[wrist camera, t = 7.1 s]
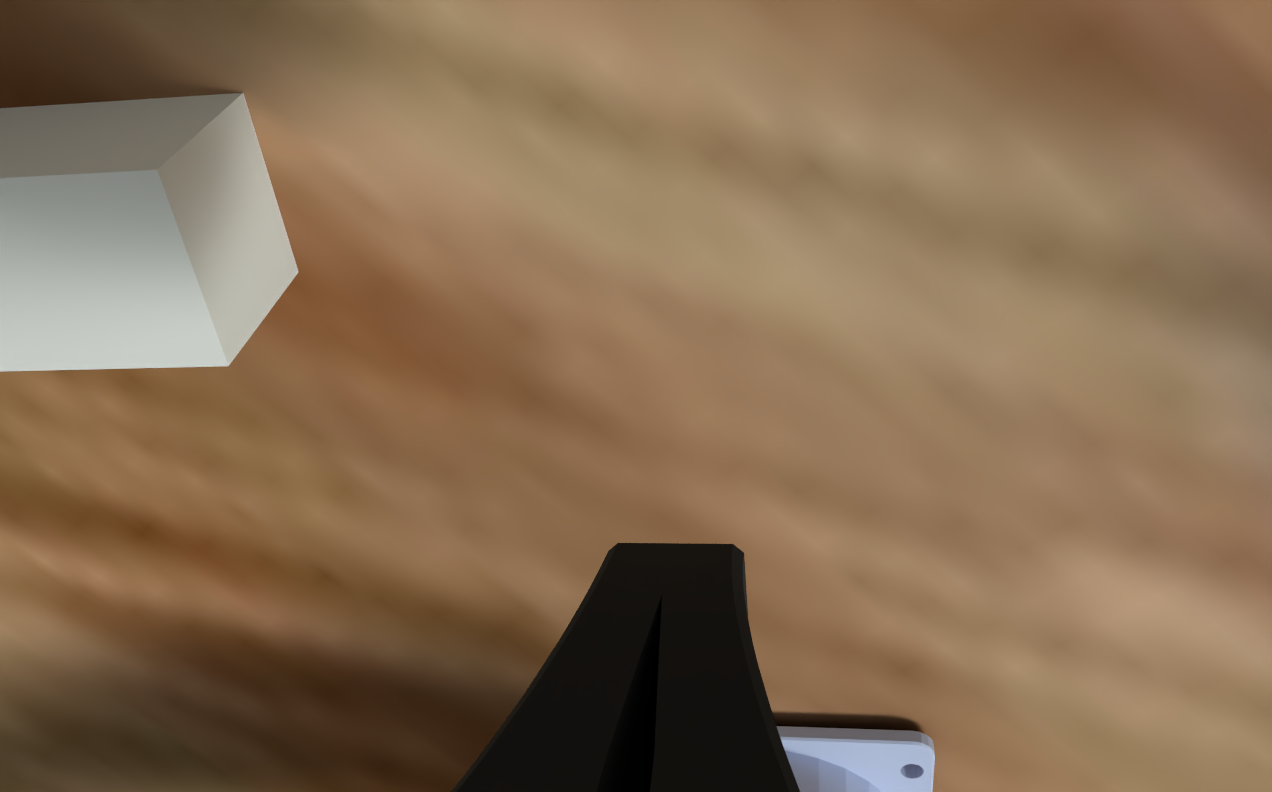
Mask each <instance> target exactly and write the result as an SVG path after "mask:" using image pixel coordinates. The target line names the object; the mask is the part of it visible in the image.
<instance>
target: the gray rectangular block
mask: <svg viewBox="0 0 1272 792" xmlns="http://www.w3.org/2000/svg"><path fill="white" fill-rule="evenodd" d="M297 274H298V269H297V266H296V263H295V259H294V256H293V253H292V250H291V246H290V243H289V240H288V237H287V233H286V230H285V227H284V224H283V220H282V217H281V214H280V211H279V207H278V204H277V201H276V198H275V194H274V191H273V188H272V185H271V181H270V178H269V175H268V172H267V168H266V165H265V162H264V159H263V155H262V152H261V149H260V146H259V142H258V139H257V136H256V133H255V129H254V126H253V123H252V120H251V116H250V113H249V110H248V107H247V103H246V100H245V97H244V94H243V93H232V94H216V95H201V96H185V97H170V98H154V99H138V100H123V101H107V102H91V103H76V104H60V105H45V106H29V107H13V108H0V371H38V370H81V369H124V368H166V367H209V366H229V365H230V363H231V362H232V361H233V359H234V358H235V357H236V355H237V354H238V353H239V351H240V350H241V349H242V347H243V346H244V345H245V343H246V342H247V341H248V339H249V338H250V337H251V335H252V334H253V333H254V331H255V330H256V329H257V327H258V326H259V325H260V323H261V322H262V321H263V319H264V318H265V317H266V315H267V314H268V312H269V311H270V310H271V308H272V307H273V306H274V304H275V303H276V302H277V300H278V299H279V298H280V296H281V295H282V294H283V292H284V291H285V290H286V288H287V287H288V286H289V284H290V283H291V282H292V280H293V279H294V278H295V276H296V275H297Z"/></svg>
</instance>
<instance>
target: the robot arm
mask: <svg viewBox="0 0 1272 792" xmlns="http://www.w3.org/2000/svg"><path fill="white" fill-rule="evenodd" d="M934 762H935V752H934V745H933V740H932V739H931V738H930V737H929V736H928V735H926V734H923V733H921V732H918V731H909V730H879V729H850V728H820V727H791V726H776V723H775V720H774V717H773V714H772V711H771V708H770V704H769V701H768V697H767V694H766V691H765V687H764V684H763V680H762V677H761V674H760V670H759V667H758V663H757V659H756V655H755V651H754V647H753V642H752V637H751V632H750V627H749V622H748V610H747V594H746V578H745V562H744V553H743V552H742V551H741V550H740V549H738V548H737V547H736V546H735V545H733V544H668V543H617V544H616V545H615V546H614V547H613V548H612V549H610V550H609V551H608V553H607V555H606V557H605V559H604V561H603V563H602V565H601V567H600V569H599V571H598V573H597V575H596V577H595V579H594V581H593V583H592V585H591V586H590V588H589V590H588V592H587V594H586V596H585V597H584V599H583V601H582V603H581V604H580V606H579V608H578V610H577V611H576V613H575V615H574V616H573V618H572V620H571V622H570V623H569V625H568V627H567V628H566V630H565V632H564V633H563V635H562V637H561V638H560V640H559V642H558V643H557V645H556V646H555V648H554V649H553V651H552V652H551V654H550V655H549V657H548V659H547V660H546V662H545V663H544V665H543V666H542V668H541V669H540V671H539V672H538V674H537V675H536V677H535V679H534V680H533V682H532V683H531V685H530V686H529V688H528V689H527V691H526V692H525V694H524V695H523V697H522V698H521V700H520V701H519V703H518V704H517V705H516V707H515V708H514V710H513V711H512V712H511V714H510V715H509V716H508V718H507V719H506V720H505V722H504V723H503V725H502V726H501V727H500V729H499V730H498V731H497V733H496V734H495V735H494V737H493V738H492V739H491V741H490V742H489V744H488V745H487V746H486V748H485V749H484V750H483V752H482V753H481V754H480V756H479V757H478V759H477V760H476V761H475V762H474V764H473V765H472V766H471V768H470V769H469V770H468V771H467V773H466V774H465V775H464V776H463V778H462V779H461V780H460V781H459V783H458V784H457V785H456V786H455V788H454V789H453V790H452V791H451V792H932V790H933V776H934Z"/></svg>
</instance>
